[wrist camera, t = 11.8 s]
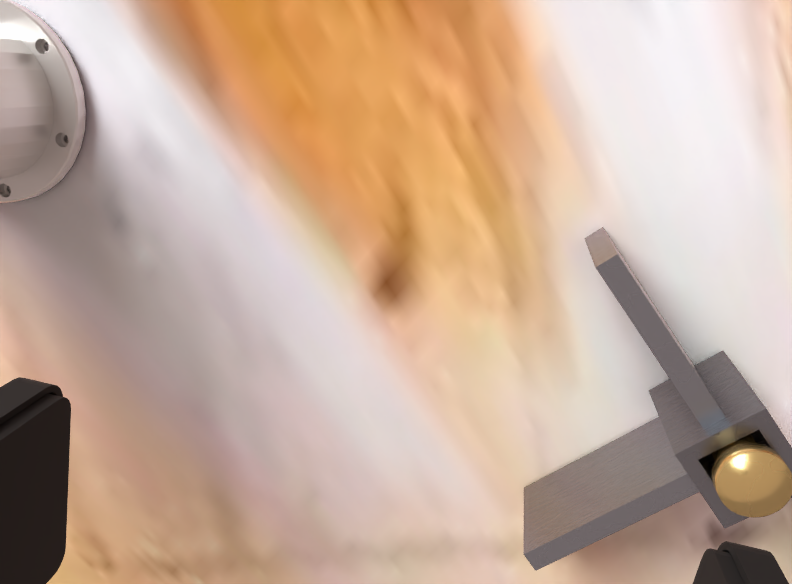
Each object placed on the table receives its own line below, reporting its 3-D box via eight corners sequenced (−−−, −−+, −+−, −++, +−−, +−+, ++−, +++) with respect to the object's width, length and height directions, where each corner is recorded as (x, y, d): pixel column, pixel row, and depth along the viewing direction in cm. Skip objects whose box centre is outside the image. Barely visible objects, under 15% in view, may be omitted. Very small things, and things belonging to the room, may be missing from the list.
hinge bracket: (549, 523, 47) (554, 607, 40) (419, 341, 45) (397, 393, 38) (765, 415, 43) (816, 486, 35) (631, 209, 41) (654, 237, 33)
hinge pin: (695, 438, 44) (739, 528, 35) (666, 393, 44) (703, 473, 35) (748, 411, 43) (807, 497, 34) (718, 365, 43) (771, 440, 34)
